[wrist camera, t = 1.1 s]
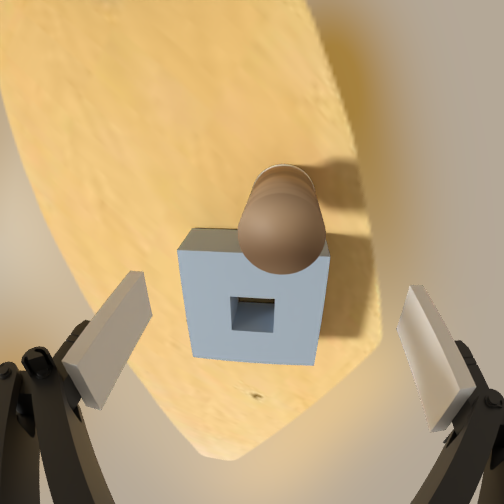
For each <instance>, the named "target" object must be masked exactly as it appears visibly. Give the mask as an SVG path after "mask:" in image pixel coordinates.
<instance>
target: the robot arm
mask: <svg viewBox="0 0 504 504" xmlns="http://www.w3.org/2000/svg"><path fill="white" fill-rule="evenodd" d="M151 317H152V311H151V307H150V302H149V297H148V293H147V288H146V283H145V277H144V272H139V271H130V272H129V273H128V274H127V275H126V277H125V278H124V279H123V280H122V281H121V283H120V284H119V285H118V286H117V288H116V289H115V290H114V291H113V293H112V294H111V295H110V296H109V298H108V299H107V300H106V302H105V303H104V304H103V305H102V307H101V308H100V309H99V311H98V312H97V313H96V314H95V316H94V317H93V318H92V320H91V321H88V320H85V321H83V322H82V323H81V324H79V325H77V326H76V327H75V329H74V330H73V332H72V333H71V335H69V337H68V338H67V339H66V341H65V342H64V343H63V345H62V346H61V347H60V349H59V350H58V351H57V353H56V354H55V356H54V357H53V358H52V357H51V355H50V353H49V351H48V350H47V349H46V348H45V347H40V346H39V347H34V348H32V349H29V350H28V351H27V352H26V353H25V354H24V356H23V357H22V361H21V362H22V364H23V366H24V368H25V369H26V371H19V370H18V368H17V366H16V365H15V364H14V363H13V362H5V363H2V364H1V365H0V504H40V491H39V458H40V456H39V455H40V452H41V457H42V461H43V465H44V469H45V474H46V478H47V481H48V485H49V489H50V492H51V496H52V499H53V502H54V504H115V502H114V500H113V498H112V496H111V493H110V491H109V489H108V486H107V484H106V482H105V479H104V477H103V474H102V472H101V469H100V466H99V464H98V461H97V458H96V456H95V453H94V450H93V447H92V444H91V441H90V439H89V435H88V432H87V429H86V426H85V422H84V419H83V416H82V412H81V409H80V407H79V405H78V403H79V401H80V399H81V398H82V400H83V401H84V403H85V405H86V406H88V407H91V408H94V409H98V410H102V408H103V406H104V404H105V402H106V400H107V398H108V396H109V394H110V392H111V390H112V388H113V387H114V385H115V383H116V381H117V379H118V377H119V375H120V373H121V371H122V370H123V368H124V366H125V364H126V362H127V360H128V358H129V357H130V355H131V353H132V351H133V349H134V347H135V346H136V344H137V342H138V340H139V338H140V337H141V335H142V333H143V331H144V329H145V328H146V326H147V324H148V322H149V321H150V319H151ZM396 329H397V332H398V334H399V337H400V340H401V343H402V345H403V348H404V351H405V354H406V357H407V360H408V363H409V366H410V369H411V371H412V375H413V378H414V380H415V384H416V387H417V390H418V393H419V397H420V400H421V403H422V406H423V410H424V413H425V417H426V420H427V424H428V427H429V431H430V432H437V431H442V430H446V429H447V427H448V426H449V425H450V423H451V422H452V423H453V426H454V430H453V431H452V432H451V433H450V434H449V436H448V437H447V438H446V439H445V440H444V442H443V443H446V444H445V446H444V448H443V450H442V451H441V453H440V455H439V457H438V459H437V461H436V463H435V465H434V466H433V468H432V470H431V471H430V473H429V475H428V477H427V478H426V480H425V482H424V483H423V485H422V486H421V488H420V490H419V491H418V493H417V494H416V496H415V498H414V499H413V501H412V502H411V504H469V503H470V501H471V499H472V497H473V495H474V492H475V490H476V488H477V486H478V483H479V481H480V479H481V476H482V474H483V479H482V485H481V490H480V494H479V499H478V504H504V398H503V396H502V395H501V394H500V393H499V392H497V391H496V390H493V389H489V387H488V385H487V383H486V381H485V379H484V377H483V375H482V373H481V371H480V369H479V367H478V365H476V361H475V359H474V358H473V355H472V353H471V351H470V350H469V348H468V347H467V346H466V345H465V344H464V343H463V342H462V341H460V340H459V341H454V340H453V338H452V336H451V334H450V332H449V330H448V328H447V326H446V325H445V323H444V321H443V319H442V317H441V315H440V314H439V312H438V310H437V308H436V307H435V305H434V303H433V301H432V300H431V298H430V296H429V295H428V293H427V291H426V290H425V288H424V286H423V285H410V286H409V290H408V293H407V297H406V300H405V303H404V307H403V310H402V313H401V316H400V320H399V322H398V325H397V328H396ZM483 472H484V473H483Z"/></svg>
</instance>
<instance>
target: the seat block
mask: <svg viewBox="0 0 504 504" xmlns="http://www.w3.org/2000/svg"><path fill="white" fill-rule="evenodd" d="M177 253H178V261H179V269H180V276H181V284H182V291H183V298H184V304H185V311H186V317H187V324H188V330H189V336H190V342H191V347H192V353H193V357H198V358H206V359H216V360H226V361H238V362H250V363H265V364H284V365H312V366H314V362H315V356H316V350H317V345H318V339H319V333H320V327H321V320H322V314H323V307H324V301H325V294H326V287H327V279H328V272H329V264H330V253H329V249H328V245H327V241H326V239H325V244H324V247H323V250H322V252H321V254H320V255H319V257H318V258H317V259H316V260H315V262H314V263H312V264H311V265H310V266H309V267H307V268H306V269H304V270H302V271H299V272H297V273H293V274H286V275H278V274H272V273H268V272H265V271H263V270H261V269H259V268H257V267H256V266H254V265H253V264H252V263H250V261H249V260H248V259H247V258H246V257H245V256H244V254H243V252H242V250H241V248H240V246H239V242H238V230H231V229H199V228H192V229H191V231H190V232H189V234H188V235H187V237H186V238H185V239H184V241H183V242H182V244H181V245H180V247H179V248H178V249H177ZM239 297H248V298H266V299H275V304H273V303H254V302H239Z"/></svg>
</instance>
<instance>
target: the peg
mask: <svg viewBox="0 0 504 504" xmlns="http://www.w3.org/2000/svg"><path fill="white" fill-rule="evenodd" d="M325 239H326V231H325V225H324V222H323V218H322V214H321V211H320V207H319V204H318V200H317V197H316V194H315V188H314V185H313V183H312V180H311V179H310V177H309V176H308V175H307V174H306V173H305V172H304V171H303V170H302V169H300V168H298V167H296V166H293V165H289V164H277V165H273V166H271V167H268V168H267V169H265V170H264V171H263V172H261V173H260V175H259V176H258V177H257V179H256V180H255V182H254V185H253V188H252V191H251V194H250V196H249V199H248V201H247V204H246V206H245V209H244V212H243V214H242V217H241V219H240V222H239V226H238V242H239V246H240V248H241V250H242V252H243V254H244V256H245V257H246V258H247V259H248V260H249V261H250V263H252V264H253V265H254V266H256V267H257V268H259V269H261V270H263V271H265V272H268V273H272V274H278V275H286V274H293V273H297V272H299V271H302V270H304V269H306V268H307V267H309V266H310V265H311V264H312V263H314V262H315V260H316V259H317V258H318V257H319V255H320V254H321V252H322V250H323V247H324V244H325Z"/></svg>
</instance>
